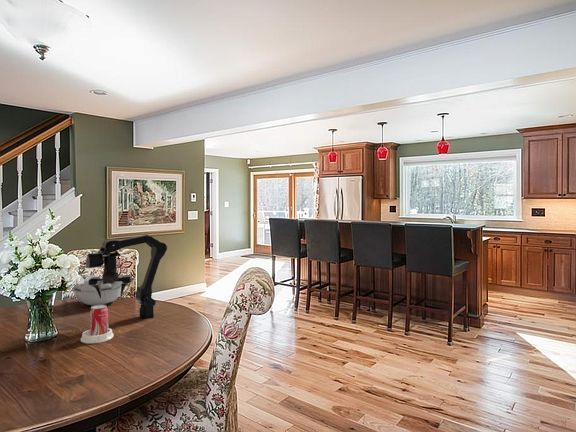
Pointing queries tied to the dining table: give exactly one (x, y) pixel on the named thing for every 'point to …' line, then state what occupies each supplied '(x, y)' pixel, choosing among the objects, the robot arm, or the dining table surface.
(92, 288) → the decorative bowl
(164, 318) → the dining table surface
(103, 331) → the soda can
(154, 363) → the dining table surface
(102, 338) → the white ring
